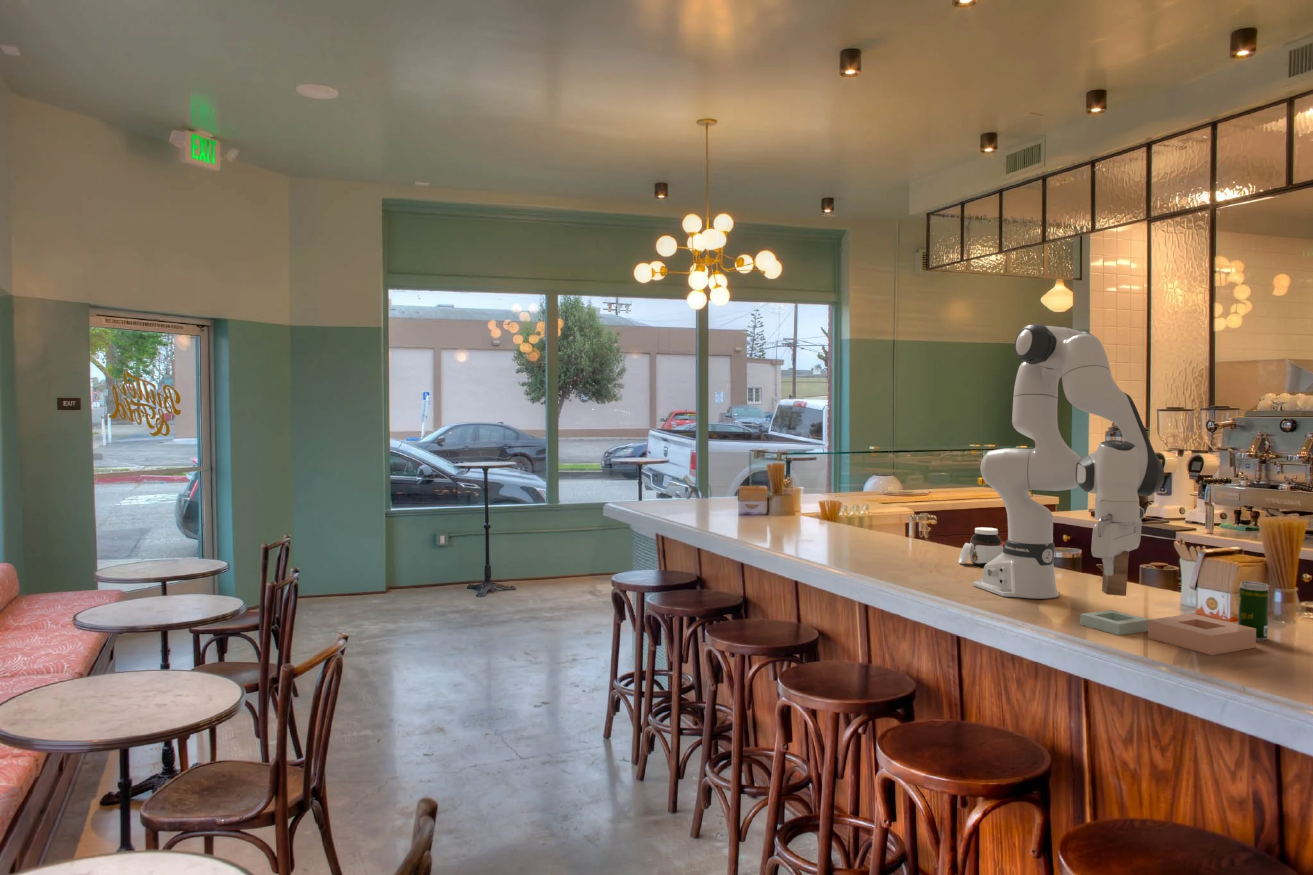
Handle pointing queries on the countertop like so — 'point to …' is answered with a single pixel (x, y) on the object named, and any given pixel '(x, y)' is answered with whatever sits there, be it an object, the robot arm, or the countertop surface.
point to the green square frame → (1114, 622)
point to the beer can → (1254, 607)
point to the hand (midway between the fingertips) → (1115, 572)
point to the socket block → (1202, 634)
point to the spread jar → (982, 547)
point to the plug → (1117, 576)
